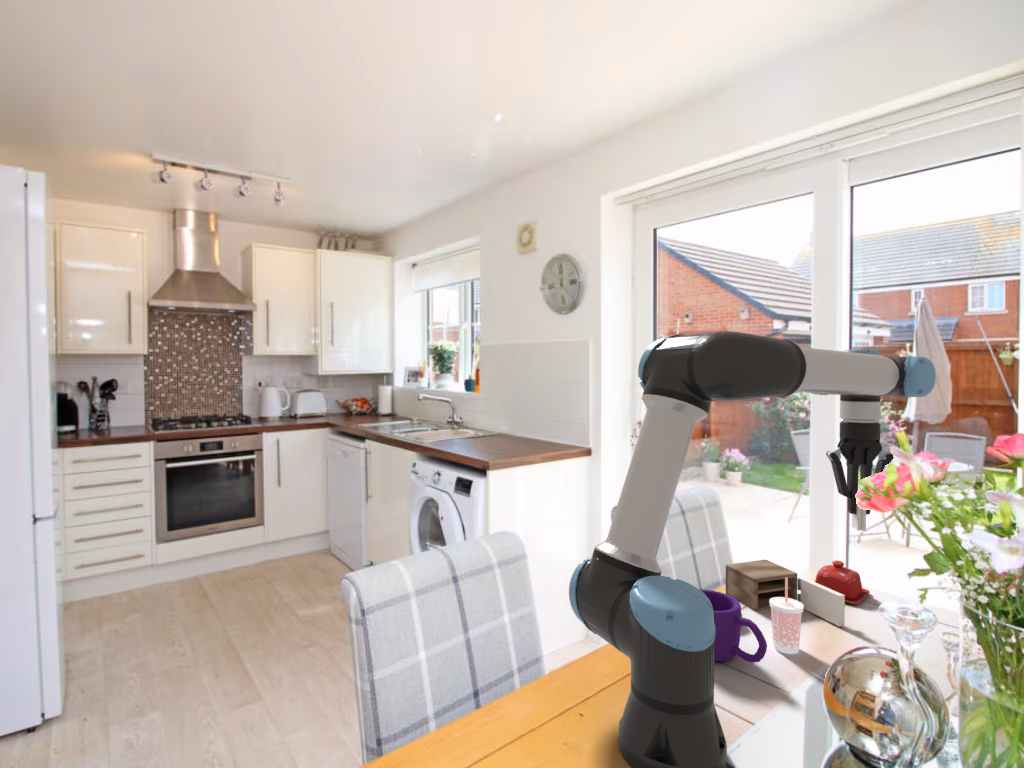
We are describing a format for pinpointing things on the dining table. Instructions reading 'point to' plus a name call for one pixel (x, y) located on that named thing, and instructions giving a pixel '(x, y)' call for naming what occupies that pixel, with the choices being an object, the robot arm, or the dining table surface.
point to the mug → (732, 628)
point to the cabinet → (759, 583)
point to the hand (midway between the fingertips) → (858, 528)
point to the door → (822, 601)
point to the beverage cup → (786, 622)
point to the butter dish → (842, 581)
